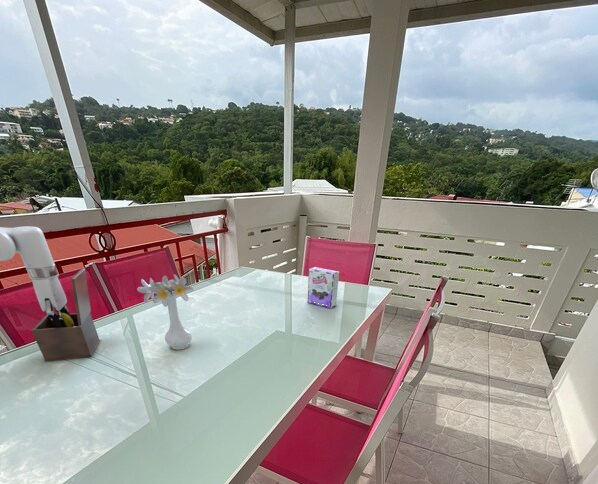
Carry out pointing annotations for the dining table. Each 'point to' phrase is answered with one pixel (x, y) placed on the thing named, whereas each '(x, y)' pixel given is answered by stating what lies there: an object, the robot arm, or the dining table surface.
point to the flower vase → (170, 307)
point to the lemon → (67, 320)
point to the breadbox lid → (81, 295)
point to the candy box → (323, 287)
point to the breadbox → (66, 339)
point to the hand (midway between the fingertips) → (65, 326)
